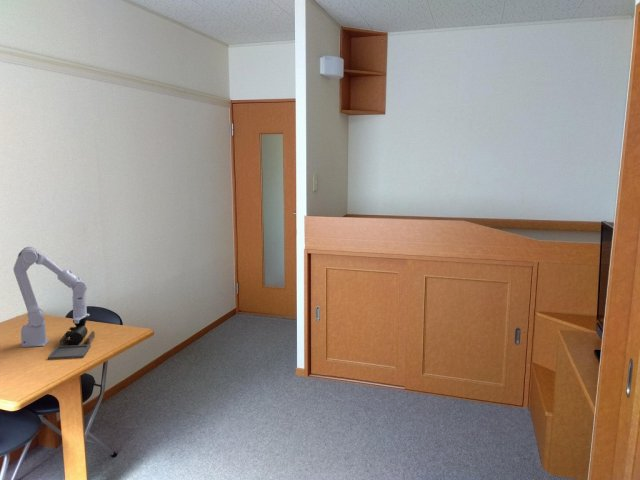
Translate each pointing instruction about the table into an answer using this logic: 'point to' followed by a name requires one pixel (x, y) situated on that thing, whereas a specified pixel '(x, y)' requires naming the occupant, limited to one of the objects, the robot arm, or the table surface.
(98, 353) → the table surface
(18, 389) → the table surface
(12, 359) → the table surface
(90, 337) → the channel walls
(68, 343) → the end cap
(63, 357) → the tray
